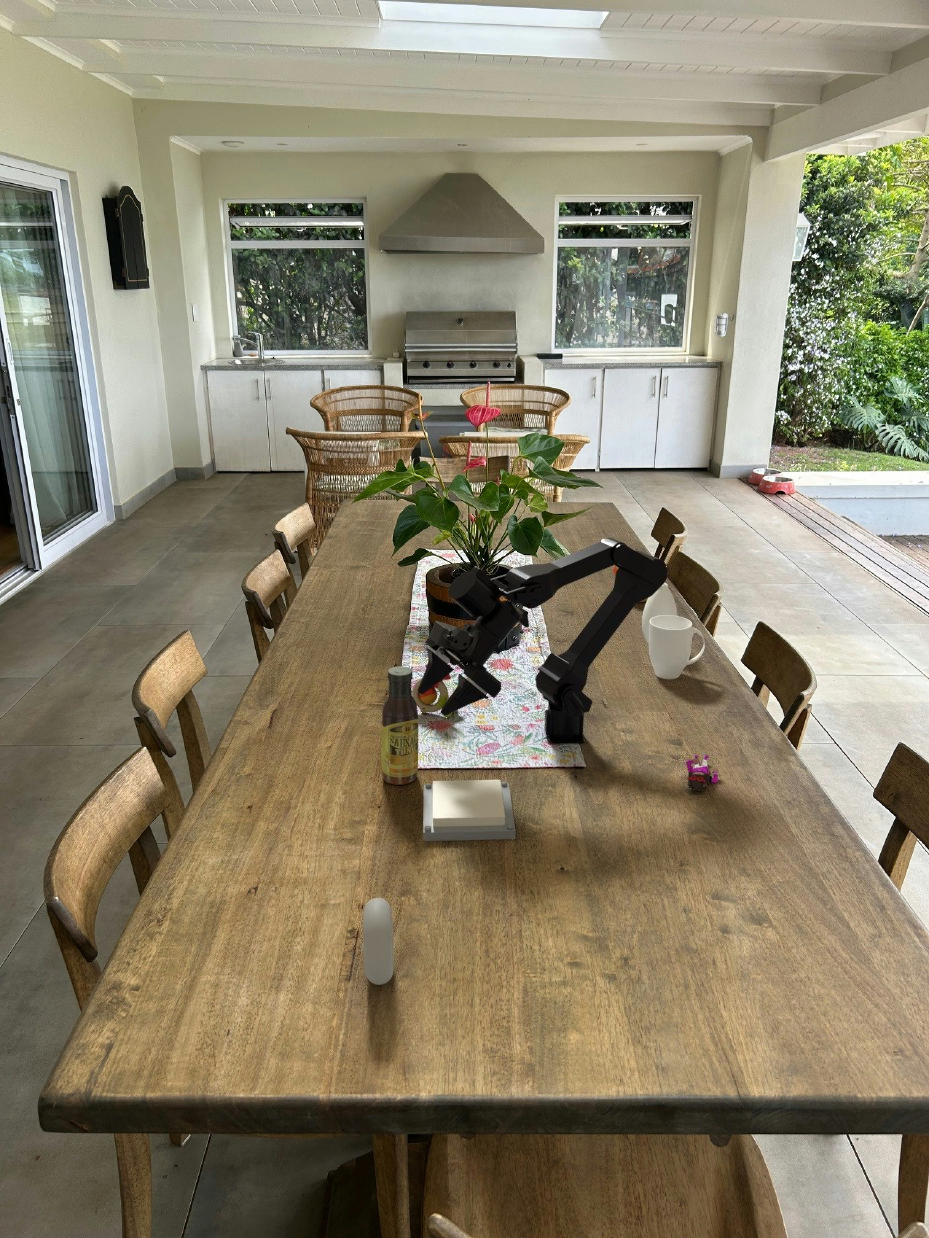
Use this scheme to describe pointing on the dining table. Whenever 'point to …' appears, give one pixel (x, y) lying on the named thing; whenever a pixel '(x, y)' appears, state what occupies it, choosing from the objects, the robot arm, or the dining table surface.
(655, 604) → the sauce bottle
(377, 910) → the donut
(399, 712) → the sauce bottle
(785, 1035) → the dining table surface
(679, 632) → the mug
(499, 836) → the tower base
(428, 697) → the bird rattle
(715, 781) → the character figurine
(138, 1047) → the dining table surface
